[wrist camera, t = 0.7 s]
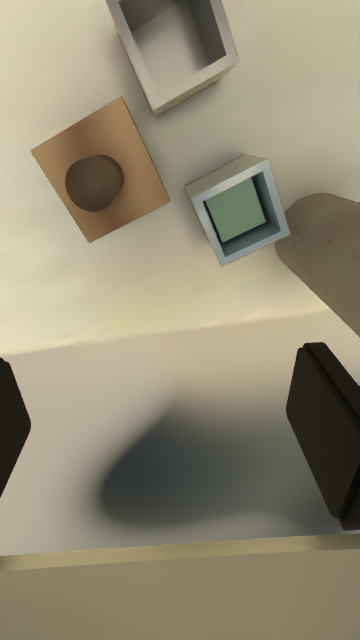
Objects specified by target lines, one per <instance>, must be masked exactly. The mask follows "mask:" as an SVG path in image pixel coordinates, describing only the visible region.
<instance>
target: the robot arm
mask: <svg viewBox="0 0 360 640" xmlns="http://www.w3.org/2000/svg"><path fill="white" fill-rule="evenodd" d="M286 413H287V417H288V420H289V422H290V424H291V427H292V429H293V431H294V433H295V435H296V438H297V440H298V442H299V444H300V447H301V449H302V451H303V453H304V456H305V458H306V460H307V462H308V464H309V467H310V469H311V471H312V473H313V475H314V478H315V480H316V482H317V485H318V487H319V489H320V491H321V493H322V496H323V498H324V500H325V502H326V505H327V507H328V509H329V511H330V513H331V515H332V516H333V517H334V518H338V519H339V521H340V523H341V526H342V528H343V530H359V529H360V386H359V385H358V384H357V383H356V382H355V381H354V380H353V378H352V377H351V376H350V374H349V373H348V372H347V371H346V369H345V368H344V367H343V366H342V364H341V363H340V362H339V360H338V359H337V358H336V357H335V355H334V354H333V353H332V352H331V351H330V349H329V348H328V347H327V345H326V344H325V343H322V342H319V343H318V342H317V343H305V344H304V345H303V348H299V349H298V351H297V356H296V361H295V366H294V371H293V376H292V381H291V386H290V391H289V396H288V401H287V406H286ZM30 429H31V421H30V418H29V415H28V412H27V410H26V407H25V404H24V402H23V399H22V396H21V393H20V391H19V388H18V385H17V383H16V380H15V377H14V374H13V371H12V369H11V366H10V364H9V363H8V362H5V361H4V360H3V359H2V358H0V497H1V495H2V493H3V491H4V488H5V486H6V484H7V482H8V479H9V477H10V474H11V473H12V470H13V468H14V466H15V464H16V462H17V459H18V457H19V455H20V452H21V450H22V448H23V446H24V444H25V441H26V439H27V437H28V435H29V432H30ZM0 640H360V534H342V535H320V536H298V537H282V538H266V539H248V540H232V541H215V542H199V543H185V544H170V545H154V546H139V547H124V548H109V549H95V550H80V551H66V552H51V553H39V554H24V555H10V556H0Z"/></svg>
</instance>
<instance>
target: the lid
mask: <svg viewBox="0 0 360 640" xmlns="http://www.w3.org/2000/svg"><path fill="white" fill-rule="evenodd" d="M30 151H31V153H32V154H33V156H34V157H35V159H36V161H37V162H38V164H39V165H40V167H41V168H42V170H43V172H44V173H45V175H46V176H47V178H48V179H49V181H50V183H51V184H52V186H53V187H54V189H55V190H56V192H57V194H58V195H59V197H60V198H61V200H62V201H63V203H64V205H65V206H66V208H67V209H68V211H69V212H70V214H71V215H72V217H73V219H74V220H75V222H76V223H77V225H78V226H79V228H80V230H81V231H82V233H83V234H84V236H85V237H86V239H87V241H88V242H89V243H91V242H93V241H94V240H96V239H98V238H100V237H102V236H104V235H106V234H108V233H110V232H112V231H114V230H116V229H118V228H120V227H122V226H123V225H125V224H127V223H129V222H131V221H133V220H135V219H137V218H139V217H141V216H143V215H145V214H147V213H149V212H151V211H153V210H154V209H156V208H158V207H160V206H162V205H164V204H166V203H168V202H170V198H169V196H168V194H167V192H166V189H165V187H164V185H163V183H162V181H161V179H160V177H159V174H158V172H157V170H156V168H155V166H154V164H153V162H152V160H151V157H150V155H149V153H148V151H147V149H146V147H145V145H144V142H143V140H142V138H141V136H140V134H139V132H138V130H137V127H136V125H135V123H134V121H133V119H132V117H131V115H130V112H129V110H128V108H127V106H126V104H125V102H124V100H123V98H122V97H120V98H118V99H116V100H114V101H113V102H111V103H109V104H108V105H106V106H104V107H103V108H101V109H99V110H98V111H96V112H94V113H93V114H91V115H89V116H88V117H86V118H84V119H83V120H81V121H79V122H77V123H76V124H74V125H72V126H71V127H69V128H67V129H66V130H64V131H62V132H61V133H59V134H57V135H56V136H54V137H52V138H51V139H49V140H47V141H45V142H44V143H42V144H40V145H39V146H37V147H35V148H34V149H32V150H30Z"/></svg>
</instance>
